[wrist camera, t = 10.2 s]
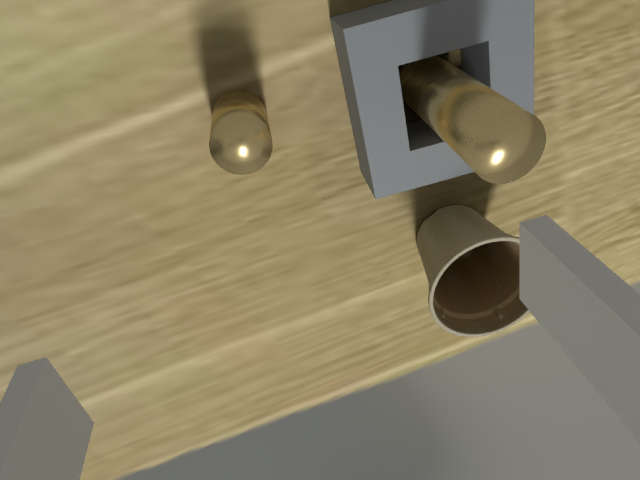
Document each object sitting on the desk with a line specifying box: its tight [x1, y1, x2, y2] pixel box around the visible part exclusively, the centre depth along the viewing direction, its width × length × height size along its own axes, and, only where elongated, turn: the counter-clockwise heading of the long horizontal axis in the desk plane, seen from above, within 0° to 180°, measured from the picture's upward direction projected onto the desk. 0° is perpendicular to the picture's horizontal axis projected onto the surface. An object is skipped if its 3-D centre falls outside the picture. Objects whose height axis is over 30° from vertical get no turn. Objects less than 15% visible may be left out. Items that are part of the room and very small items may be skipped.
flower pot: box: [417, 205, 530, 337], centre depth 42 cm, size 9×9×9 cm
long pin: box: [399, 55, 546, 184], centre depth 32 cm, size 4×4×14 cm
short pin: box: [209, 89, 272, 175], centre depth 35 cm, size 4×4×6 cm
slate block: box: [330, 0, 534, 199], centre depth 36 cm, size 12×12×5 cm
